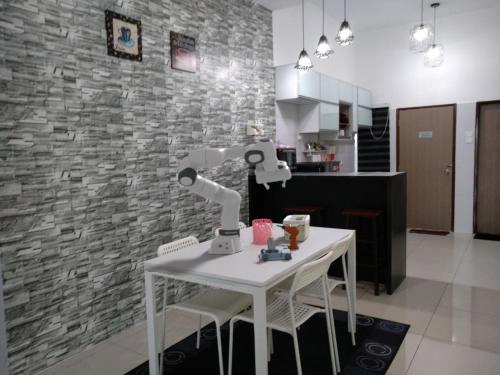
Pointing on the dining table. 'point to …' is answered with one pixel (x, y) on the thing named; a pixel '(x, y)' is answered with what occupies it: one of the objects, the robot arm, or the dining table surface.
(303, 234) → the storage basket
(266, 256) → the chassis
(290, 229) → the toy drill
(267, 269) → the dining table surface
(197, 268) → the dining table surface
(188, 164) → the robot arm
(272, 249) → the motor
